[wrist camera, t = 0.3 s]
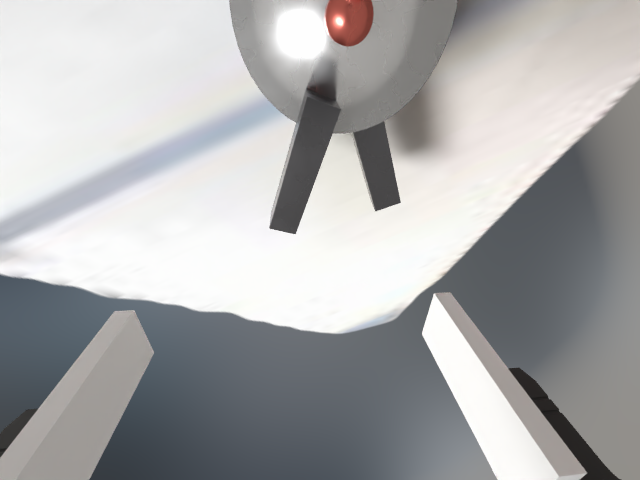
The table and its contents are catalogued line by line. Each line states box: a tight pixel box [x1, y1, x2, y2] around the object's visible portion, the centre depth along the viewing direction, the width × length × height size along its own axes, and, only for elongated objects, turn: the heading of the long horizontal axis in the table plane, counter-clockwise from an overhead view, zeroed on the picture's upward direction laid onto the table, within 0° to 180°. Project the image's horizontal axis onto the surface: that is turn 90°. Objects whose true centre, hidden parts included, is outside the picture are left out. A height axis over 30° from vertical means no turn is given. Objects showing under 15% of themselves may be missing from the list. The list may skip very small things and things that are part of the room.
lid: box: [229, 0, 458, 234], centre depth 20 cm, size 25×16×4 cm, turn 160°
